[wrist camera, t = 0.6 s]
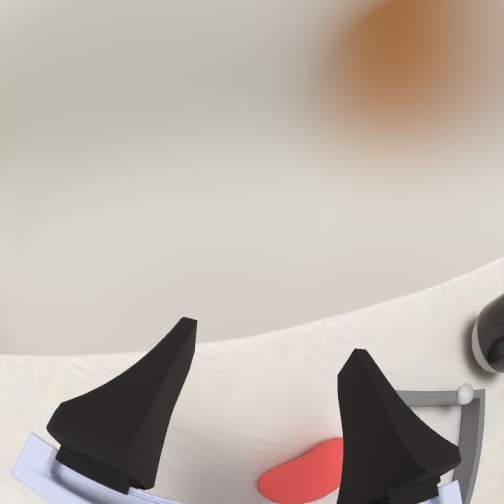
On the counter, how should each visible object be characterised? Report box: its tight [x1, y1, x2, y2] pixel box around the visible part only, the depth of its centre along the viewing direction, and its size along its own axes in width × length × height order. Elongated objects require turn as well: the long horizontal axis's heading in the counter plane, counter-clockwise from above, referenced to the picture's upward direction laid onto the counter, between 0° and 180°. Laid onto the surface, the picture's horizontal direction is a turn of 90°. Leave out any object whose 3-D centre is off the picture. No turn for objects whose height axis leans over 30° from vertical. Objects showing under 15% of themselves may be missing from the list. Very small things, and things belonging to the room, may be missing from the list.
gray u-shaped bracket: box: [395, 383, 485, 504], centre depth 15 cm, size 19×14×4 cm
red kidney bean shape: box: [258, 438, 343, 504], centre depth 17 cm, size 5×9×6 cm, turn 104°
